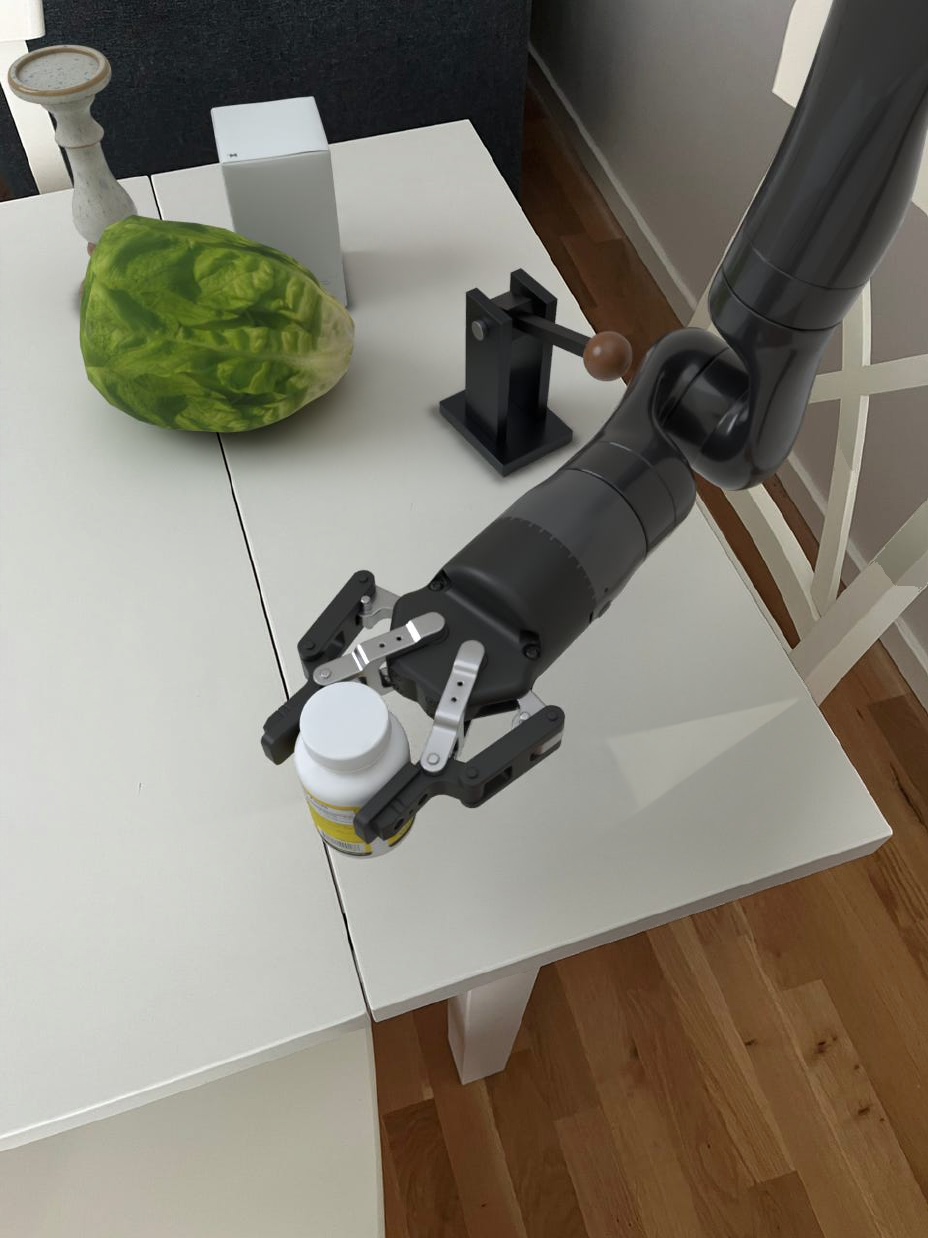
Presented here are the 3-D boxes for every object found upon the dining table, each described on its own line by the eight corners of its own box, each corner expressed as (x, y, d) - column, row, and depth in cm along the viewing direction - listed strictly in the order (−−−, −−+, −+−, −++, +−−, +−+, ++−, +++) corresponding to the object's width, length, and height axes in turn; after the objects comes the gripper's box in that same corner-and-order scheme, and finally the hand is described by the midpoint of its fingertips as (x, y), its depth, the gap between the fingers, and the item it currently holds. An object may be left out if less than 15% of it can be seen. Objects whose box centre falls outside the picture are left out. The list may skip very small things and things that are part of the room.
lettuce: (334, 496, 80) (380, 332, 70) (58, 450, 74) (66, 263, 64) (327, 386, 91) (367, 230, 81) (88, 338, 85) (98, 163, 75)
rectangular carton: (350, 308, 90) (332, 149, 78) (251, 323, 89) (217, 164, 76) (334, 250, 95) (315, 92, 83) (241, 263, 94) (208, 105, 81)
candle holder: (199, 288, 91) (141, 60, 75) (128, 338, 87) (50, 108, 71) (133, 254, 94) (63, 28, 78) (61, 301, 90) (-28, 72, 74)
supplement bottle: (400, 753, 53) (387, 654, 45) (430, 843, 50) (422, 753, 42) (303, 782, 52) (272, 686, 44) (327, 876, 50) (299, 790, 42)
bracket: (572, 441, 80) (589, 310, 70) (502, 477, 78) (509, 347, 67) (506, 379, 84) (513, 247, 74) (439, 412, 82) (435, 280, 72)
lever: (644, 376, 65) (641, 330, 63) (606, 395, 64) (602, 349, 62) (519, 323, 75) (513, 282, 73) (485, 339, 74) (478, 298, 72)
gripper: (440, 457, 52) (191, 662, 45) (666, 600, 47) (425, 860, 39) (443, 548, 58) (225, 741, 51) (644, 683, 53) (432, 922, 45)
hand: (314, 791), depth 45 cm, fingers closed on supplement bottle, 5 cm apart
